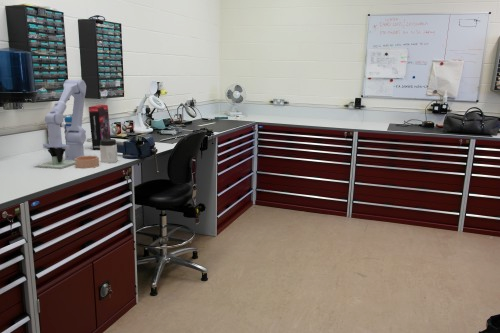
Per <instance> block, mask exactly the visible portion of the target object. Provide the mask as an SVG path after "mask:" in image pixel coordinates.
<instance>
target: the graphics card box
mask: <svg viewBox="0 0 500 333" xmlns="http://www.w3.org/2000/svg"><path fill="white" fill-rule="evenodd" d="M88 115H89V117H88V118H89V125H90V135H91V136H90V137H91V145H92V150H94V151H100V140H103V139H112V138H111V128H110V125H111V124H110V116H109V105H108V104H96V105H92V106H88Z"/></svg>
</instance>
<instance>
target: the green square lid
mask: <svg viewBox="0 0 500 333" xmlns="http://www.w3.org/2000/svg"><path fill="white" fill-rule="evenodd" d="M72 164H75V160H64V157H63V158H62V162H58V159H57V156H54V157H52V156H51V161H48V162H45V163H40V164H37V165H36V166H37V167H49V168H48V169H51V168H63V167H66V166H69V165H72ZM37 167H36V168H37Z"/></svg>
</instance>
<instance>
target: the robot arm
mask: <svg viewBox="0 0 500 333" xmlns="http://www.w3.org/2000/svg"><path fill="white" fill-rule="evenodd" d="M86 92H87V85H86V82H85V80H84V79H68V78H67V79H65V81H64V83H63V91H62V93H61V95H60V98H59V99H58V101H57V100H56V101H55V102H54V105H53V106H52V108H51V110H50V112H48V113H46V115H45V117H44V121H45V124H46V127H47V128H48V138H49V143H42V148H43V149H47V151H48V153H49V154H50V156H51V158H52V157H54V156H57V159H58V162H62V158H63V159H64V161H75V158H77V157H82V156H85V152H84V151H85V150H84V144H85V142H86V141H87V135H86V131H87V130H86V129H85V128H83V127H82V126H83V117H84V107H85V99H86V97H85V96H86ZM71 97H73V104H72V105H73V106H72V107H73V108H72V115H71V117H72V123H71V126H70V127H69V128H68V129H67V132H66V134H65V133H64V140H65V144H64V143H63V139H62V138H63V137H62V129H61V124H62V123H63V121H64V120H63V119H64V118H63V116H64V113H65V111H66V109H67V103H68V101H69V99H70V98H71ZM66 142H68V144H66ZM64 157H65V158H64Z"/></svg>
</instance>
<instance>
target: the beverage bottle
mask: <svg viewBox="0 0 500 333" xmlns="http://www.w3.org/2000/svg"><path fill="white" fill-rule="evenodd" d="M64 123H65V124H64V127H63V129H64V135H65V134H66V132H67V129H68V128H69V127H70V126H71V123H72V116H65V117H64ZM66 144H68V142H66V141H65V145H66Z"/></svg>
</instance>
